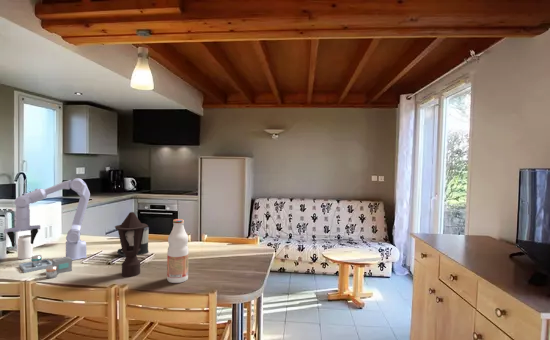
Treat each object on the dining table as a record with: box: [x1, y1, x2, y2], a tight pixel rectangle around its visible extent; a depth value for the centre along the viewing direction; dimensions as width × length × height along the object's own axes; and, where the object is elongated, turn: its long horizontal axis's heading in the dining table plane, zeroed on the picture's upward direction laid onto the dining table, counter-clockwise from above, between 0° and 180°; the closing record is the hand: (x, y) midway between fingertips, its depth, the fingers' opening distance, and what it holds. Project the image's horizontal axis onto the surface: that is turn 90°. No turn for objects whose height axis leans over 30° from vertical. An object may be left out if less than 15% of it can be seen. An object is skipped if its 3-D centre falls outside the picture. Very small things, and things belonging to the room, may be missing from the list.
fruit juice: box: [166, 218, 189, 284], centre depth 146 cm, size 9×9×28 cm
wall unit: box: [51, 256, 73, 275], centre depth 153 cm, size 7×5×6 cm
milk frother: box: [116, 226, 150, 258], centre depth 183 cm, size 14×16×15 cm
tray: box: [18, 258, 52, 274], centre depth 158 cm, size 12×12×2 cm
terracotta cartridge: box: [45, 265, 58, 280], centre depth 145 cm, size 4×4×5 cm
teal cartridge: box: [30, 254, 43, 267], centre depth 158 cm, size 4×4×5 cm
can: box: [17, 234, 34, 261], centre depth 172 cm, size 6×6×12 cm
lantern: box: [114, 211, 149, 278], centre depth 152 cm, size 15×15×30 cm
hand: (22, 245), depth 162 cm, fingers open, 7 cm apart
